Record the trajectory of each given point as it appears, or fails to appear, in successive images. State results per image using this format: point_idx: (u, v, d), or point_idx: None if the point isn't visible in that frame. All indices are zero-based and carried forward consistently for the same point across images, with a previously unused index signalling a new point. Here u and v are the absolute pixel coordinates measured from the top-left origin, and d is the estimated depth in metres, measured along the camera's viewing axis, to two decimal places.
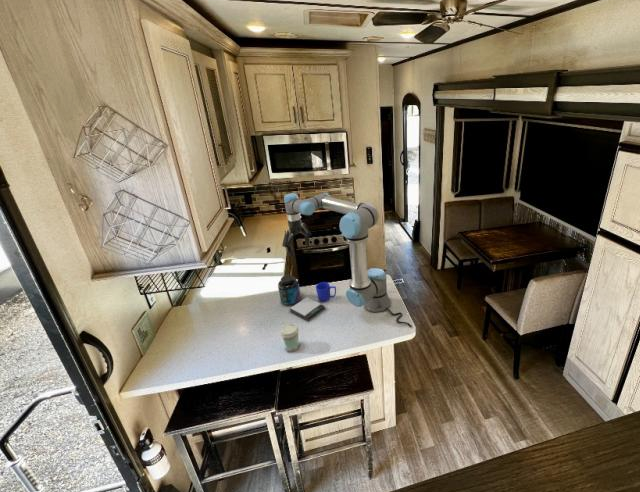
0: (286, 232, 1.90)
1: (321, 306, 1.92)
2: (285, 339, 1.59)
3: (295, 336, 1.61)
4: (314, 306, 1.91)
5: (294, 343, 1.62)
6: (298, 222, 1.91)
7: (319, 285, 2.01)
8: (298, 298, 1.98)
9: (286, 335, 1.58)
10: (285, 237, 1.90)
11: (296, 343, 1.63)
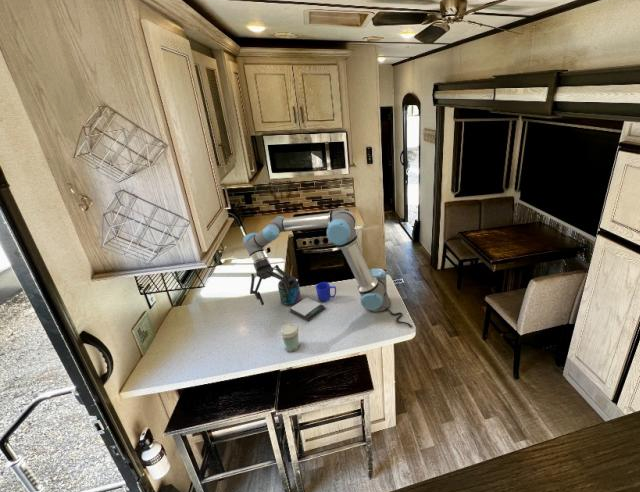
0: (251, 276, 1.63)
1: (321, 306, 1.92)
2: (285, 339, 1.59)
3: (295, 336, 1.61)
4: (314, 306, 1.91)
5: (294, 343, 1.62)
6: (262, 261, 1.66)
7: (319, 285, 2.01)
8: (298, 298, 1.98)
9: (286, 335, 1.58)
10: (251, 282, 1.62)
11: (296, 343, 1.63)
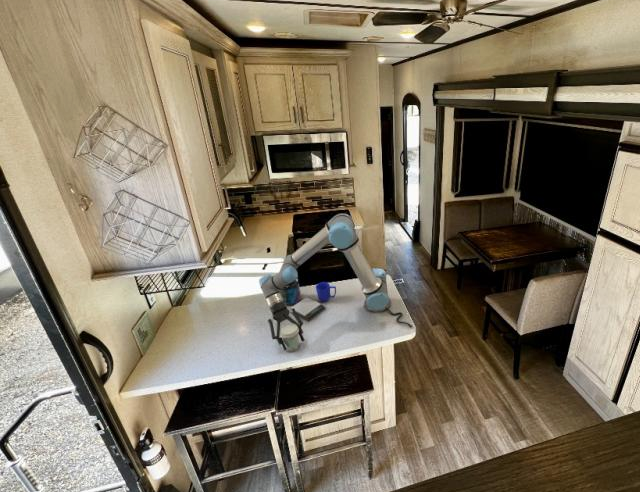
0: (268, 321, 1.61)
1: (321, 306, 1.92)
2: (285, 339, 1.59)
3: (295, 336, 1.61)
4: (314, 306, 1.91)
5: (294, 343, 1.62)
6: (278, 304, 1.64)
7: (319, 285, 2.01)
8: (298, 298, 1.98)
9: (286, 335, 1.58)
10: (270, 327, 1.61)
11: (296, 343, 1.63)
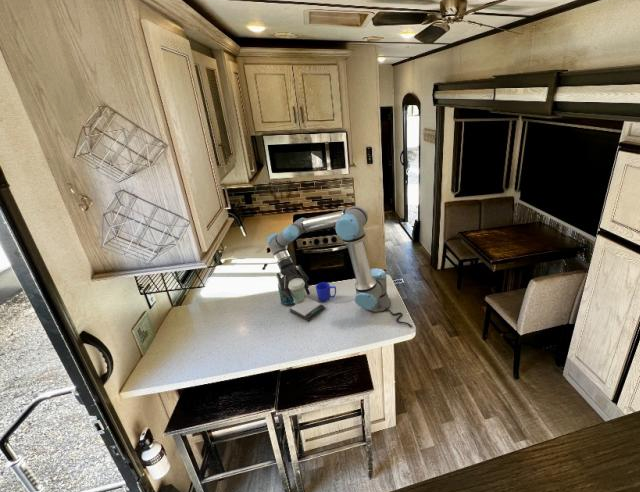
0: (276, 275, 1.74)
1: (321, 306, 1.92)
2: (292, 291, 1.71)
3: (302, 289, 1.73)
4: (314, 306, 1.91)
5: (300, 296, 1.74)
6: (285, 259, 1.76)
7: (319, 285, 2.01)
8: None
9: (293, 287, 1.70)
10: (278, 281, 1.73)
11: (302, 296, 1.75)
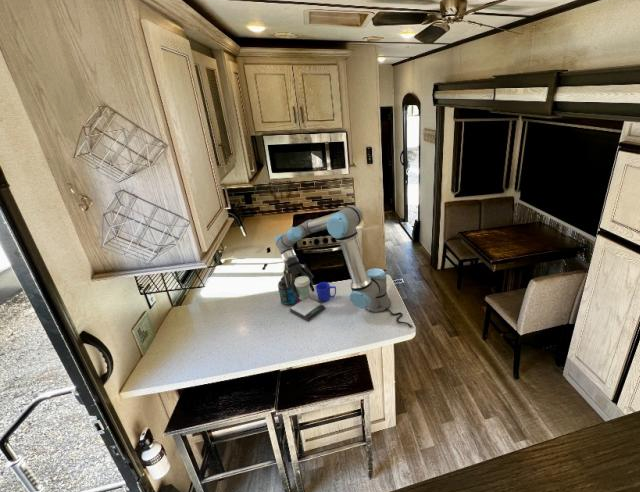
0: (283, 273, 1.85)
1: (321, 306, 1.92)
2: (298, 288, 1.83)
3: (307, 286, 1.84)
4: (314, 306, 1.91)
5: (306, 292, 1.85)
6: (292, 258, 1.87)
7: (319, 285, 2.01)
8: (298, 298, 1.98)
9: (299, 284, 1.82)
10: (285, 278, 1.84)
11: (307, 292, 1.87)
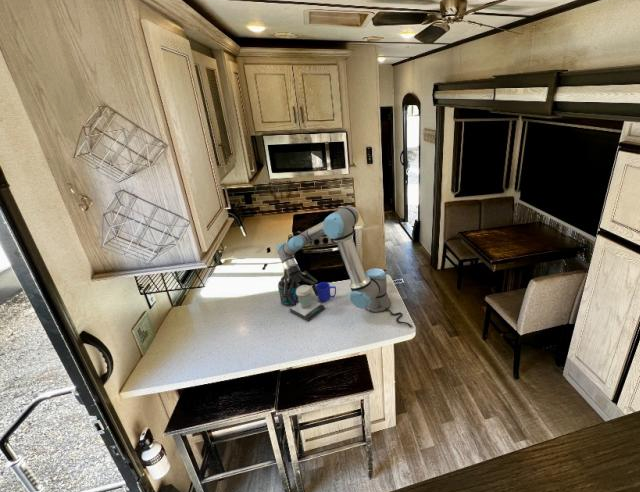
0: (284, 280, 1.87)
1: (321, 306, 1.92)
2: (300, 297, 1.85)
3: (308, 295, 1.86)
4: (314, 306, 1.91)
5: (307, 301, 1.88)
6: (293, 267, 1.90)
7: (319, 285, 2.01)
8: None
9: (300, 294, 1.84)
10: None
11: (309, 301, 1.89)
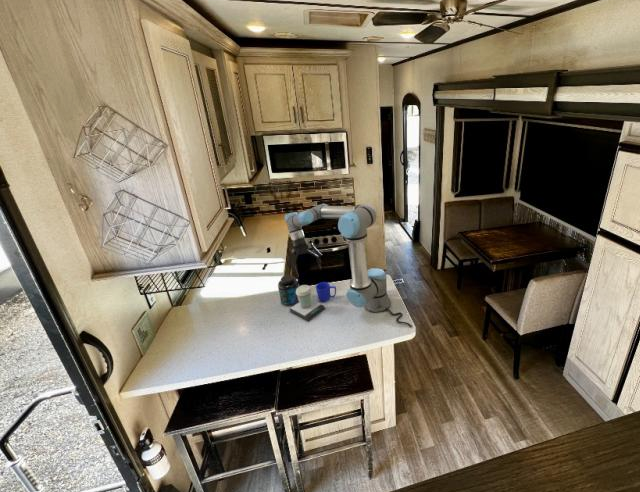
0: None
1: (321, 306, 1.92)
2: (300, 297, 1.85)
3: (308, 295, 1.86)
4: (314, 306, 1.91)
5: (307, 301, 1.88)
6: (297, 240, 1.89)
7: (319, 285, 2.01)
8: None
9: (300, 294, 1.84)
10: None
11: (309, 301, 1.89)
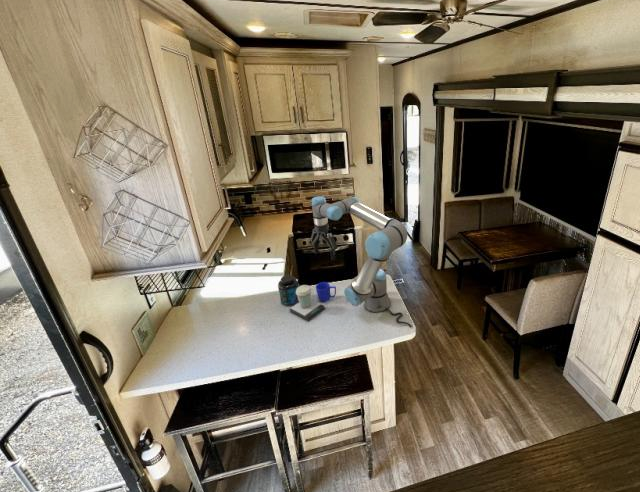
0: None
1: (321, 306, 1.92)
2: (300, 297, 1.85)
3: (308, 295, 1.86)
4: (314, 306, 1.91)
5: (307, 301, 1.88)
6: (316, 227, 1.83)
7: (319, 285, 2.01)
8: None
9: (300, 294, 1.84)
10: None
11: (309, 301, 1.89)
